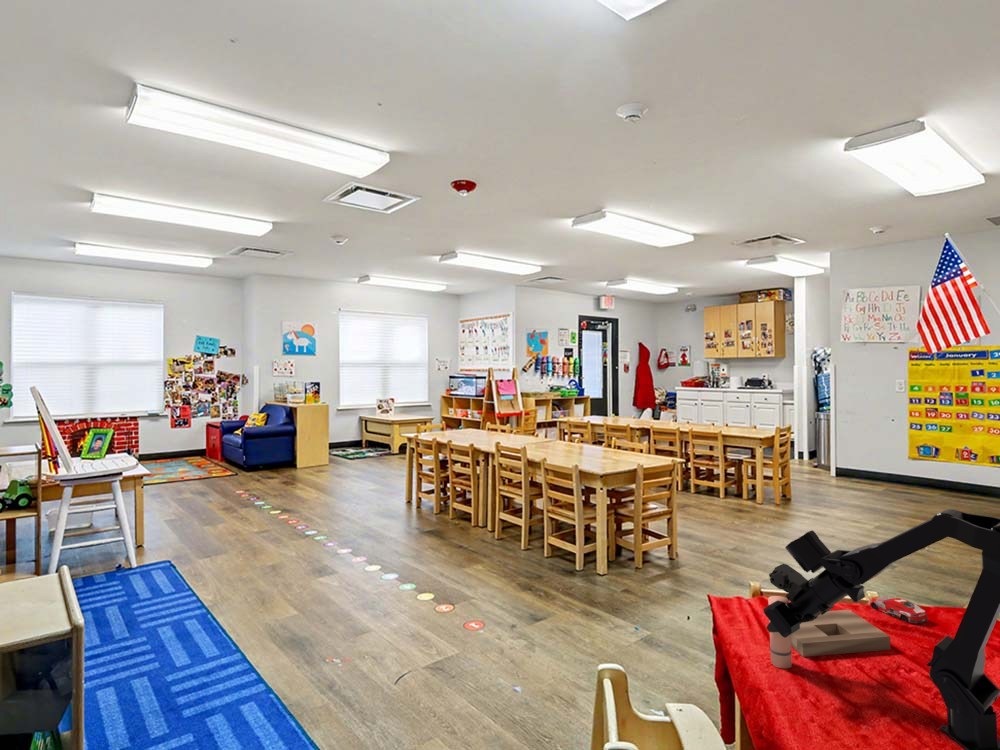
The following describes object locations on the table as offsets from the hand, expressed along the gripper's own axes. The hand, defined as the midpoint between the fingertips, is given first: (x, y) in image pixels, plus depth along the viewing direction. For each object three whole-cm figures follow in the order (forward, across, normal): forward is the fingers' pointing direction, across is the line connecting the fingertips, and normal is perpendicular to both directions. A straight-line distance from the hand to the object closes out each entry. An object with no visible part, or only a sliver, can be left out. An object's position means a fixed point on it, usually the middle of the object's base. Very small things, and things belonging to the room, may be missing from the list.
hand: (773, 626), depth 127 cm
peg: (+4, 0, +6) cm, 8 cm away
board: (+4, -18, +7) cm, 20 cm away
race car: (0, -43, +11) cm, 45 cm away
